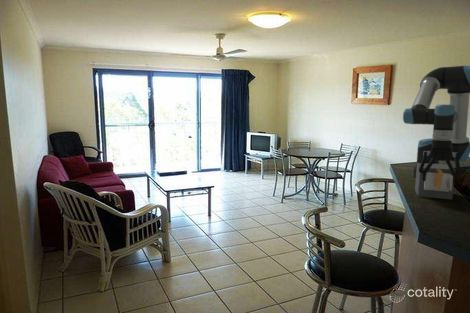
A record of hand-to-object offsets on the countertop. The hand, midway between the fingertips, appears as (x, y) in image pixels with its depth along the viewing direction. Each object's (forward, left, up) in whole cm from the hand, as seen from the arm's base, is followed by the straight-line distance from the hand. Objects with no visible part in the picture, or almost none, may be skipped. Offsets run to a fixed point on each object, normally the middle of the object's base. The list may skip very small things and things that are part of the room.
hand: (437, 188), depth 153 cm
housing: (-8, -8, -5) cm, 13 cm away
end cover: (-5, -5, -2) cm, 7 cm away
